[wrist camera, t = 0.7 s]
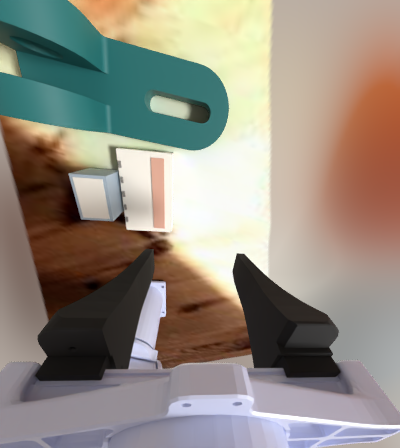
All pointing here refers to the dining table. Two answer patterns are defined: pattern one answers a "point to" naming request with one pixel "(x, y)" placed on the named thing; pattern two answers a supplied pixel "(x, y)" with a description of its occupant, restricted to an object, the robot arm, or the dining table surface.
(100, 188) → the stub
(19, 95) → the bracket
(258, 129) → the dining table surface
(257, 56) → the dining table surface
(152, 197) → the spiral notebook
